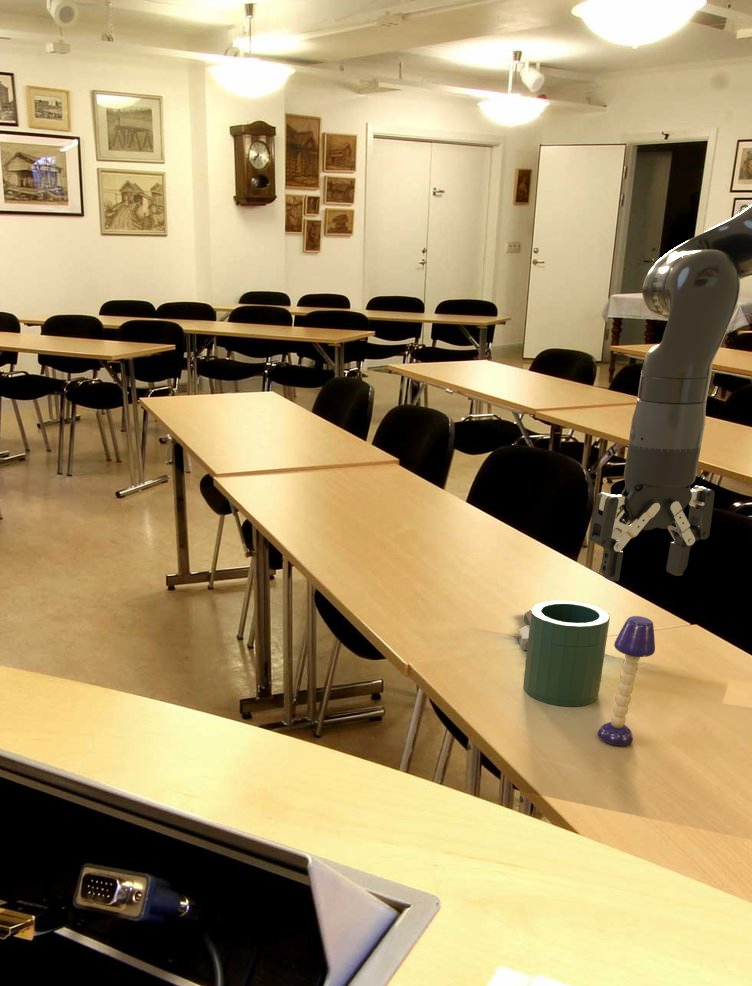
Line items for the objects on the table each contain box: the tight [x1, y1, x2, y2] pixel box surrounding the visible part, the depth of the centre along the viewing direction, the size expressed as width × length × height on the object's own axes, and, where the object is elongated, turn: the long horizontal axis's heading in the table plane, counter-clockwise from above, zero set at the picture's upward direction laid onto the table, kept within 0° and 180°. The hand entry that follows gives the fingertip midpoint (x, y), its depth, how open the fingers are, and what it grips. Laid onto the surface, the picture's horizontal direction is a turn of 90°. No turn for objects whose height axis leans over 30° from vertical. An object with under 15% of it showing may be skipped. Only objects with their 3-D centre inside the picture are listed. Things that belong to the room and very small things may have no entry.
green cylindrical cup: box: [522, 600, 611, 707], centre depth 129 cm, size 10×10×12 cm
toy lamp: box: [597, 615, 656, 746], centre depth 114 cm, size 5×5×17 cm
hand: (642, 576), depth 109 cm, fingers open, 8 cm apart
